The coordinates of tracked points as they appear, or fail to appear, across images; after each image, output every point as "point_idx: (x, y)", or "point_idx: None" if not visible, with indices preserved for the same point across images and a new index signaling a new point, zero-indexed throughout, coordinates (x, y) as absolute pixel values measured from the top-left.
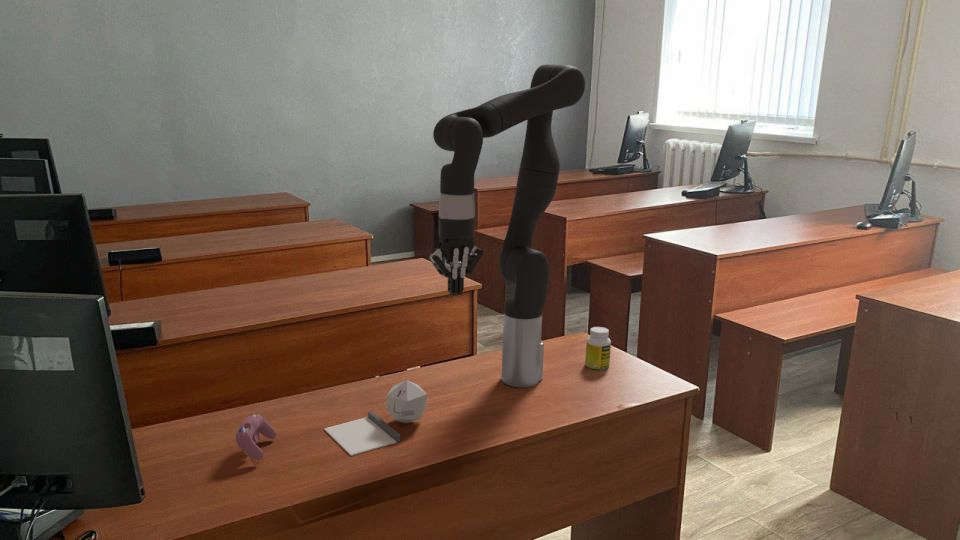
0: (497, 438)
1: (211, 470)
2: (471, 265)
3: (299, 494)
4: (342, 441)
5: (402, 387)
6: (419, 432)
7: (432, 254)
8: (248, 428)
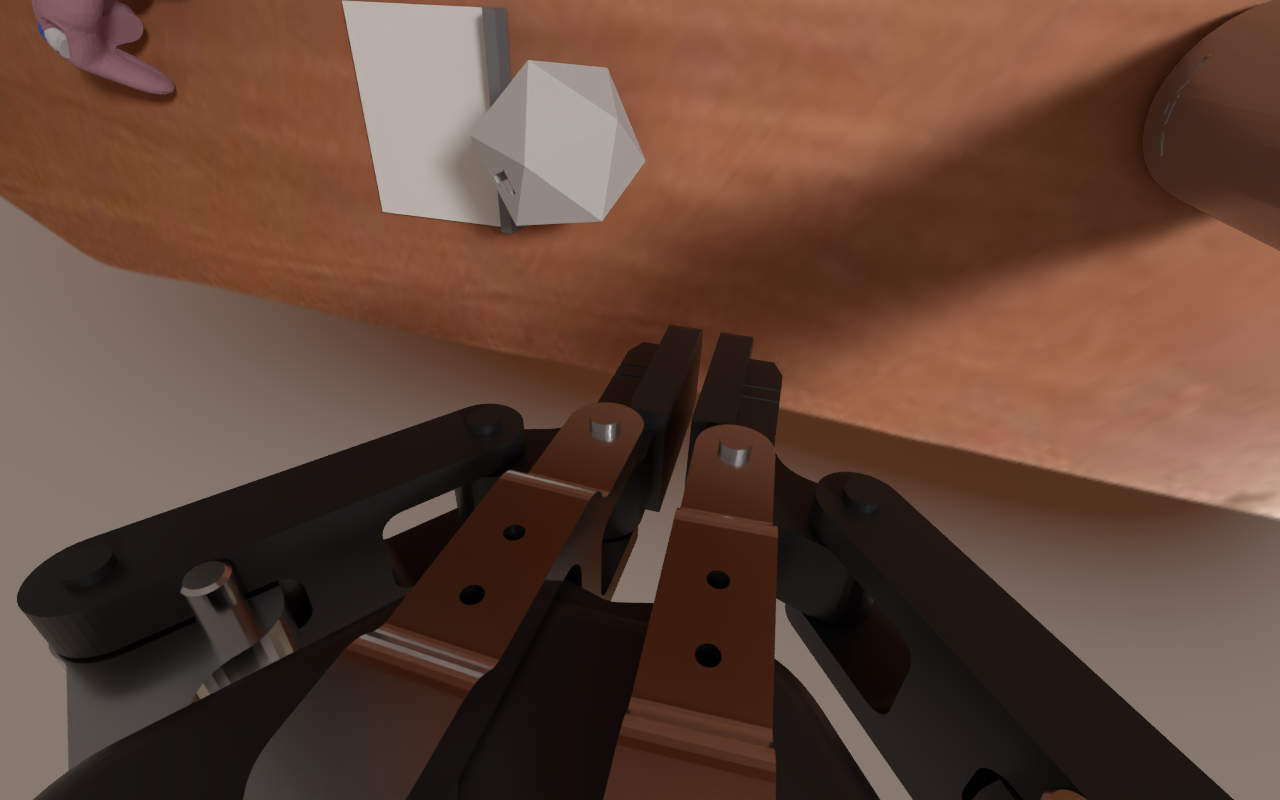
0: None
1: None
2: (851, 690)
3: (264, 280)
4: (377, 127)
5: (510, 171)
6: None
7: (68, 673)
8: (62, 42)
